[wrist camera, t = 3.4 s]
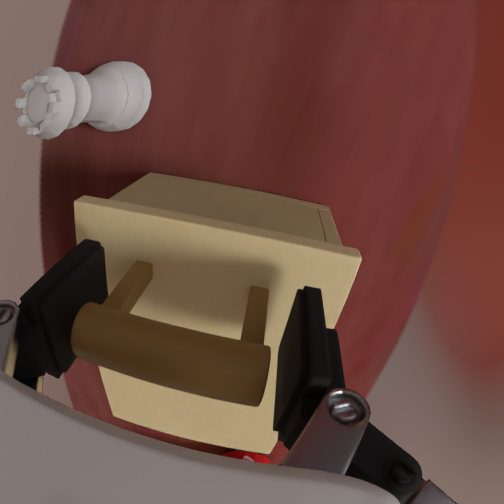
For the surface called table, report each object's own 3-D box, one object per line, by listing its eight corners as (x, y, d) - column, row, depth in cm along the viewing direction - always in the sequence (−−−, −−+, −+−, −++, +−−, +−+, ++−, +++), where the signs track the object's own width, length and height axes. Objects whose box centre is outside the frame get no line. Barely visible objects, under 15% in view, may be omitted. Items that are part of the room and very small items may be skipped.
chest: (150, 171, 18) (85, 214, 12) (328, 206, 18) (350, 268, 12) (149, 341, 25) (117, 407, 19) (276, 370, 25) (270, 444, 19)
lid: (83, 194, 11) (-12, 259, 6) (358, 248, 11) (399, 358, 6) (116, 407, 19) (89, 470, 14) (270, 444, 19) (263, 515, 14)
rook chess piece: (163, 114, 17) (86, 130, 9) (104, 140, 17) (18, 173, 10) (143, 49, 15) (59, 31, 8) (85, 80, 16) (-6, 88, 9)
